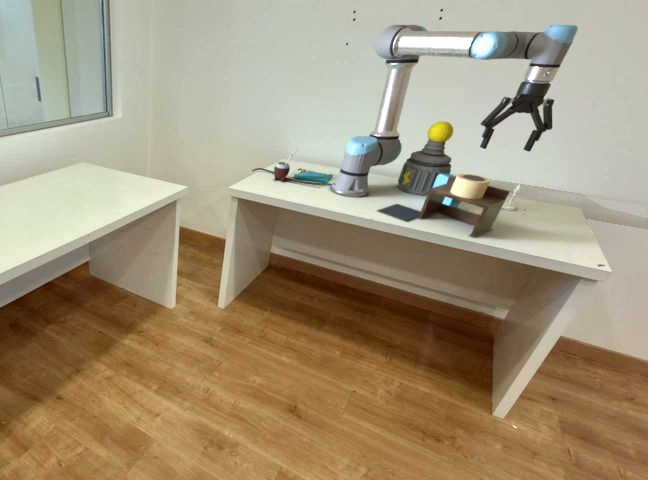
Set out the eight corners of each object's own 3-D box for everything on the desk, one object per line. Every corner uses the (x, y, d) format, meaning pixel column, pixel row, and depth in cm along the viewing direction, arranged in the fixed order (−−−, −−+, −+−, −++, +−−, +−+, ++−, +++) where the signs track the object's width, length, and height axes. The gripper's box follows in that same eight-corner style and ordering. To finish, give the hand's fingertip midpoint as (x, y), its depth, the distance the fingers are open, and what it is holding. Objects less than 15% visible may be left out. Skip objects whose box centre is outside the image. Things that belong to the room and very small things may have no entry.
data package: (457, 210, 168) (469, 181, 161) (447, 210, 167) (459, 182, 161) (436, 199, 178) (448, 172, 171) (427, 199, 177) (438, 172, 171)
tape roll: (444, 192, 151) (451, 175, 147) (458, 187, 155) (465, 171, 152) (474, 200, 144) (482, 183, 140) (487, 195, 148) (495, 179, 145)
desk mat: (377, 211, 166) (377, 210, 166) (397, 204, 172) (397, 203, 172) (406, 221, 157) (406, 220, 157) (425, 214, 164) (426, 213, 163)
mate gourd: (269, 178, 200) (275, 147, 192) (283, 176, 202) (289, 146, 194) (278, 183, 194) (284, 151, 186) (292, 181, 196) (298, 150, 188)
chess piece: (512, 206, 172) (524, 183, 166) (516, 210, 168) (529, 187, 162) (498, 204, 173) (510, 182, 168) (502, 209, 169) (514, 185, 164)
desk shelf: (418, 217, 160) (432, 181, 152) (435, 211, 166) (450, 175, 158) (473, 237, 146) (493, 197, 138) (490, 229, 152) (510, 191, 144)
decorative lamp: (386, 184, 194) (409, 118, 178) (418, 181, 199) (442, 116, 183) (418, 198, 179) (446, 127, 163) (452, 194, 183) (482, 125, 167)
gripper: (498, 81, 129) (469, 149, 140) (590, 84, 124) (552, 154, 136) (487, 79, 135) (460, 144, 146) (574, 81, 131) (539, 148, 142)
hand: (504, 149), depth 141 cm, fingers open, 13 cm apart
